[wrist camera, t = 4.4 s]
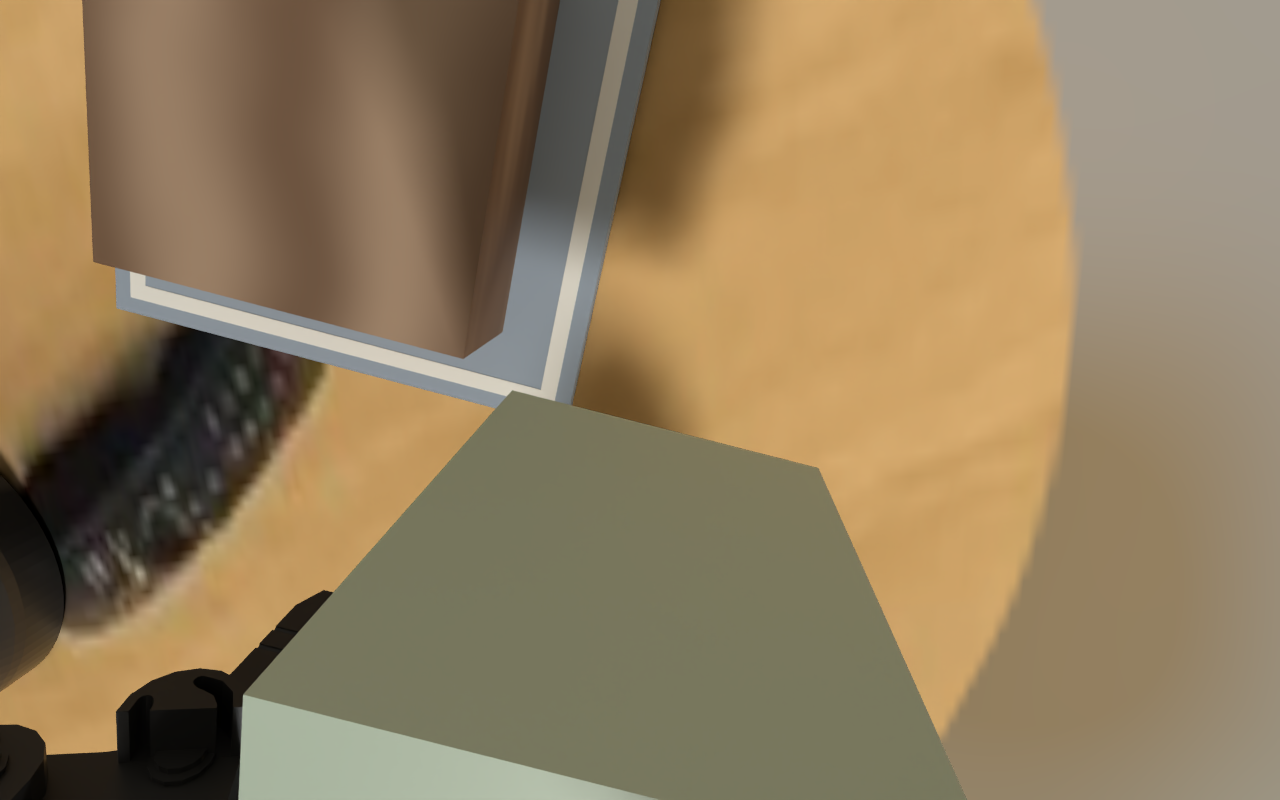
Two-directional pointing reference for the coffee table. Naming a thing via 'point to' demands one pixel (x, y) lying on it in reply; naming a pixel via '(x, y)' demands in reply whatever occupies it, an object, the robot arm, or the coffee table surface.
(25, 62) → the coffee table surface
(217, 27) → the foundation block
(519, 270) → the grey square plate
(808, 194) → the coffee table surface
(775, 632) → the sage block
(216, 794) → the robot arm
